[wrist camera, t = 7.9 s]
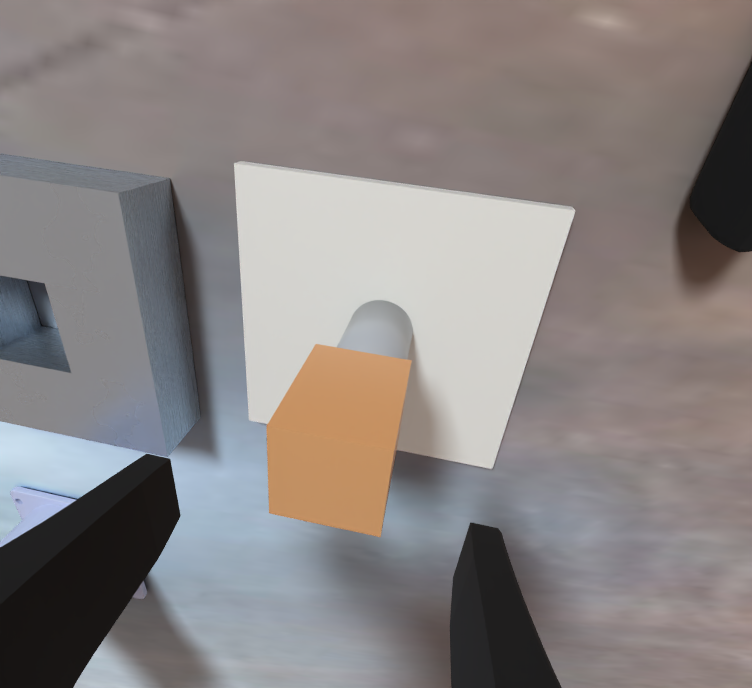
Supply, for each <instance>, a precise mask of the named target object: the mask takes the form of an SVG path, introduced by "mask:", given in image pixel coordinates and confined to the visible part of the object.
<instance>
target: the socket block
mask: <svg viewBox="0 0 752 688" xmlns="http://www.w3.org/2000/svg"><path fill="white" fill-rule="evenodd" d="M27 280H29V281H34V282H40V283H45V286H46V290H47V293H48V296H49V300H50V303H51V306H52V310H53V313H54V316H55V320H56V323H57V327H58V329H55V328H50V327H44V326H41V324H40V321H39V318H38V315H37V312H36V308H35V305H34V302H33V299H32V296H31V293H30V290H29V287H28V283H27ZM200 417H201V416H200V408H199V400H198V393H197V385H196V377H195V369H194V362H193V354H192V346H191V338H190V331H189V323H188V315H187V307H186V300H185V292H184V284H183V276H182V269H181V261H180V253H179V245H178V238H177V230H176V222H175V214H174V207H173V199H172V191H171V183H170V178H163V177H156V176H149V175H142V174H135V173H128V172H121V171H114V170H108V169H101V168H94V167H87V166H80V165H73V164H66V163H59V162H52V161H45V160H38V159H31V158H24V157H18V156H11V155H4V154H0V421H2V422H7V423H11V424H16V425H21V426H25V427H30V428H35V429H39V430H44V431H49V432H54V433H58V434H63V435H68V436H72V437H77V438H82V439H86V440H91V441H96V442H100V443H105V444H110V445H114V446H119V447H124V448H128V449H133V450H138V451H142V452H147V453H152V454H156V455H161V456H166V457H168V456H169V455H170V453H171V452H172V451H173V450H174V449H175V447H176V446H177V445H178V444H179V443H180V441H181V440H182V439H183V438H184V437H185V435H186V434H187V433H188V432H189V430H190V429H191V428H192V427H193V426H194V424H195V423H196V422H197V421H198V420H199V418H200Z"/></svg>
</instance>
